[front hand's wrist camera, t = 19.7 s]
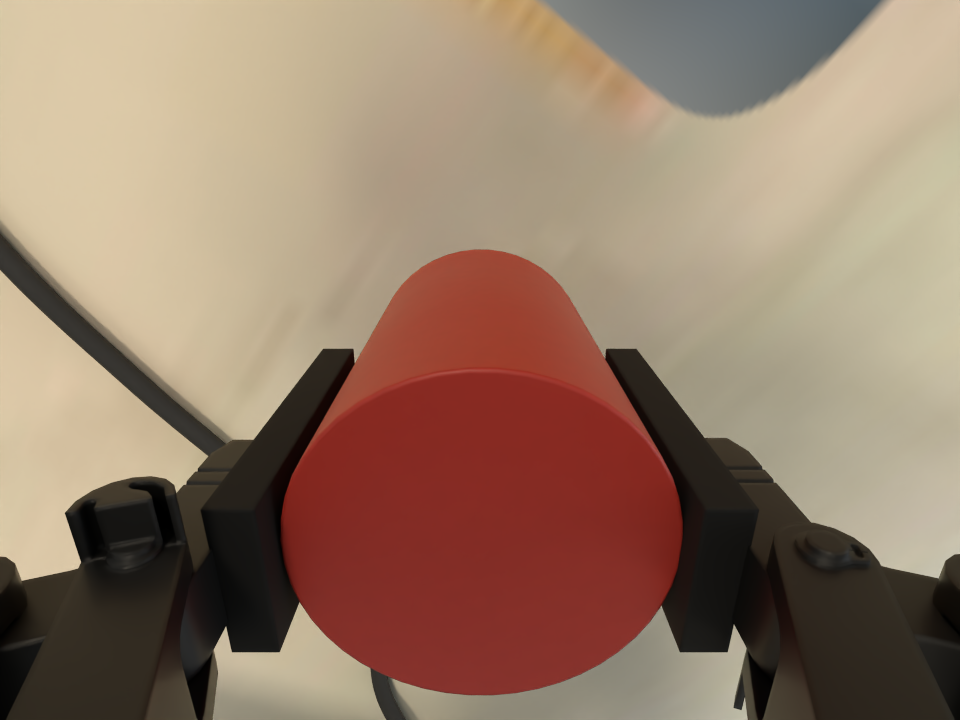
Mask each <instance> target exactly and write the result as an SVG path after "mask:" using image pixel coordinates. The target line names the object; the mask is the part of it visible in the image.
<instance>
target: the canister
mask: <svg viewBox="0 0 960 720" xmlns="http://www.w3.org/2000/svg"><path fill="white" fill-rule="evenodd" d="M682 538H683V518H682V511H681V505H680V498H679V495H678V492H677V489H676V486H675V483H674V480H673V477H672V475H671V473H670V471H669V469H668V467H667V465H666V464H665V462H664V460H663V458H662V456H661V454H660V452H659V451H658V449H657V447H656V446H655V444H654V442H653V440H652V439H651V437H650V435H649V434H648V432H647V430H646V428H645V427H644V425H643V423H642V422H641V420H640V418H639V416H638V415H637V413H636V411H635V410H634V408H633V406H632V404H631V403H630V401H629V399H628V398H627V396H626V394H625V392H624V391H623V389H622V387H621V386H620V384H619V382H618V380H617V379H616V377H615V375H614V374H613V372H612V370H611V368H610V367H609V365H608V363H607V362H606V360H605V358H604V356H603V355H602V353H601V351H600V350H599V348H598V346H597V344H596V343H595V341H594V339H593V338H592V336H591V334H590V332H589V331H588V329H587V327H586V326H585V324H584V322H583V320H582V319H581V317H580V315H579V314H578V312H577V310H576V308H575V307H574V305H573V303H572V302H571V300H570V298H569V297H568V295H567V294H566V292H565V291H564V290H563V288H562V287H561V286H560V285H559V284H558V282H557V281H556V280H555V279H554V278H553V277H552V276H551V275H549V274H548V273H547V272H546V271H544V270H543V269H542V268H540V267H539V266H537V265H535V264H534V263H532V262H530V261H528V260H526V259H524V258H521V257H519V256H516V255H513V254H509V253H506V252H501V251H494V250H468V251H460V252H456V253H453V254H449V255H446V256H443V257H441V258H438V259H436V260H434V261H432V262H430V263H428V264H427V265H425V266H423V267H422V268H420V269H419V270H418V271H416V272H415V273H414V274H412V275H411V276H410V277H409V278H408V279H407V280H406V281H405V282H404V283H403V284H402V285H401V287H400V288H399V289H398V291H397V292H396V293H395V295H394V296H393V298H392V300H391V301H390V303H389V305H388V307H387V308H386V310H385V312H384V314H383V316H382V317H381V319H380V321H379V323H378V324H377V326H376V328H375V330H374V331H373V333H372V335H371V337H370V338H369V340H368V342H367V344H366V345H365V347H364V349H363V351H362V352H361V354H360V356H359V358H358V359H357V361H356V363H355V365H354V366H353V368H352V370H351V372H350V373H349V375H348V377H347V379H346V380H345V382H344V384H343V386H342V387H341V389H340V391H339V393H338V394H337V396H336V398H335V400H334V401H333V403H332V405H331V407H330V408H329V410H328V412H327V414H326V415H325V417H324V419H323V421H322V422H321V424H320V426H319V428H318V429H317V431H316V433H315V435H314V436H313V438H312V440H311V442H310V443H309V445H308V447H307V449H306V450H305V452H304V454H303V456H302V458H301V459H300V461H299V463H298V465H297V467H296V469H295V471H294V472H293V474H292V477H291V479H290V482H289V485H288V488H287V491H286V494H285V497H284V503H283V508H282V514H281V546H282V553H283V559H284V564H285V568H286V571H287V574H288V577H289V580H290V583H291V585H292V587H293V589H294V591H295V593H296V595H297V597H298V600H299V602H300V603H301V605H302V606H303V608H304V609H305V611H306V612H307V614H308V615H309V616H310V618H311V619H312V621H313V622H314V623H315V624H316V625H317V626H318V627H319V628H320V630H321V631H322V632H323V633H324V634H325V635H326V636H327V637H328V638H329V639H330V640H331V641H333V642H334V643H335V644H336V645H337V646H338V647H339V648H341V649H342V650H343V651H344V652H346V653H347V654H349V655H350V656H352V657H353V658H355V659H356V660H357V661H359V662H360V663H362V664H364V665H366V666H368V667H370V668H371V669H373V670H375V671H377V672H379V673H381V674H383V675H386V676H388V677H391V678H393V679H396V680H398V681H400V682H403V683H407V684H410V685H413V686H417V687H420V688H424V689H429V690H434V691H439V692H444V693H453V694H463V695H500V694H511V693H518V692H524V691H529V690H535V689H539V688H543V687H546V686H550V685H553V684H557V683H560V682H562V681H565V680H568V679H570V678H573V677H575V676H578V675H580V674H582V673H584V672H586V671H588V670H590V669H592V668H594V667H596V666H597V665H599V664H601V663H603V662H604V661H606V660H607V659H609V658H610V657H612V656H613V655H615V654H616V653H618V652H619V651H620V650H621V649H623V648H624V647H625V646H626V645H627V644H628V643H630V642H631V641H632V640H633V639H634V638H635V637H636V636H637V635H638V634H639V633H640V632H641V631H642V630H643V629H644V628H645V627H646V626H647V624H648V623H649V622H650V621H651V620H652V618H653V617H654V615H655V614H656V612H657V611H658V610H659V608H660V607H661V605H662V604H663V602H664V600H665V598H666V596H667V594H668V592H669V590H670V588H671V586H672V584H673V581H674V578H675V575H676V572H677V569H678V563H679V557H680V551H681V545H682Z"/></svg>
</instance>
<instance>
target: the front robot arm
mask: <svg viewBox="0 0 960 720" xmlns="http://www.w3.org/2000/svg"><path fill="white" fill-rule="evenodd" d="M0 270H1V271H2V272H3V273H4V274H5V275H6V276H7V277H8V278H9V279H10V280H11V281H12V282H13V284H14V285H15V286H16V287H17V288H18V289H19V290H20V291H21V292H22V293H23V294H24V295H26V296H27V297H28V298H29V299H30V300H31V301H32V302H33V303H34V304H35V305H36V306H37V307H38V308H39V309H40V310H41V311H42V312H43V313H44V314H45V315H46V316H47V317H48V318H50V319H51V320H52V321H53V322H54V323H55V324H56V325H57V326H58V327H59V328H60V329H61V330H63V331H64V332H65V333H66V334H67V335H68V336H69V337H70V338H71V339H73V340H74V341H75V342H76V343H77V344H78V345H79V346H80V347H81V348H83V349H84V350H85V351H86V352H87V353H88V354H89V355H90V356H92V357H93V358H94V359H95V360H96V361H97V362H98V363H99V364H101V365H102V366H103V367H104V368H105V369H106V370H107V371H108V372H110V373H111V374H112V375H113V376H114V377H115V378H116V379H117V380H119V381H120V382H121V383H122V384H123V385H124V386H125V387H126V388H128V389H129V390H130V391H131V392H132V393H133V394H134V395H135V396H137V397H138V398H139V399H140V400H141V401H142V402H144V403H145V404H146V405H147V406H148V407H149V408H150V409H152V410H153V411H154V412H155V413H156V414H158V415H159V416H160V417H161V418H162V419H164V420H165V421H166V422H167V423H168V424H170V425H171V426H172V427H173V428H174V429H176V430H177V431H178V432H179V433H181V434H182V435H183V436H184V437H185V438H187V439H188V440H189V441H190V442H192V443H193V444H194V445H195V446H197V447H198V448H199V449H200V450H202V451H203V452H204V453H205V454H206V455H208V456H209V457H208V458H207V459H206V460H205V461H204V462H203V463H202V465H201V466H200V467H199V468H198V472H195V473H194V474H193V475H192V476H191V477H190V478H189V480H188V481H187V484H186V485H183V486H182V488H181V489H180V490H179V491H178V492H177V493H176V490H175V486H174V485H173V484H172V483H171V482H169V481H168V480H167V479H163V478H158V477H152V476H150V477H135V478H129V479H125V480H121V481H117V482H113V483H110V484H108V485H105V486H103V487H100V488H98V489H96V490H93V491H91V492H90V493H88V494H87V495H85V496H83V497H82V498H80V499H79V500H77V501H76V502H75V503H74V504H73V505H72V506H71V507H70V508H69V509H68V510H67V511H66V512H65V515H66V518H67V521H68V524H69V527H70V530H71V533H72V536H73V539H74V542H75V545H76V548H77V551H78V554H79V557H80V560H81V564H80V566H79V568H78V569H75V570H71V571H67V572H62V573H57V574H53V575H48V576H43V577H38V578H34V579H29V580H24V581H21V578H20V575H19V573H18V570H17V568H16V565H15V563H13V562H12V561H11V560H9V559H8V558H6V557H0V720H212V719H213V710H214V702H215V694H216V685H217V677H218V670H217V663H216V658H215V654H214V648H215V646H216V644H217V642H218V640H219V638H220V636H221V634H222V633H223V631H224V629H225V627H227V632H228V636H229V641H230V645H231V650H232V652H280V650H281V647H282V645H283V642H284V640H285V637H286V635H287V632H288V630H289V627H290V625H291V622H292V619H293V617H294V614H295V612H296V609H297V607H298V604H299V600H298V597H297V595H296V593H295V591H294V589H293V587H292V585H291V583H290V580H289V577H288V574H287V571H286V568H285V564H284V559H283V553H282V546H281V514H282V508H283V503H284V497H285V494H286V491H287V488H288V485H289V482H290V479H291V477H292V474H293V472H294V471H295V469H296V467H297V465H298V463H299V461H300V459H301V458H302V456H303V454H304V452H305V450H306V449H307V447H308V445H309V443H310V442H311V440H312V438H313V436H314V435H315V433H316V431H317V429H318V428H319V426H320V424H321V422H322V421H323V419H324V417H325V415H326V414H327V412H328V410H329V408H330V407H331V405H332V403H333V401H334V400H335V398H336V396H337V394H338V393H339V391H340V389H341V387H342V386H343V384H344V382H345V380H346V379H347V377H348V375H349V373H350V372H351V370H352V368H353V366H354V365H355V362H354V351H353V349H323V350H322V351H321V353H320V354H319V355H318V356H317V358H316V359H315V360H314V362H313V363H312V364H311V366H310V367H309V368H308V370H307V371H306V372H305V373H304V375H303V376H302V377H301V379H300V380H299V381H298V383H297V384H296V385H295V387H294V388H293V389H292V390H291V392H290V393H289V394H288V396H287V397H286V398H285V400H284V401H283V402H282V404H281V405H280V406H279V407H278V409H277V410H276V411H275V413H274V414H273V415H272V417H271V418H270V419H269V421H268V422H267V423H266V424H265V426H264V427H263V428H262V430H261V431H260V432H259V434H258V435H257V436H256V438H255V439H254V440H232V441H231V442H229V443H227V444H225V443H224V442H223V441H222V440H220V439H219V438H218V437H217V436H216V435H214V434H213V433H212V432H211V431H210V430H208V429H207V428H206V427H205V426H203V425H202V424H201V423H200V422H199V421H197V420H196V419H195V418H194V417H193V416H191V415H190V414H189V413H188V412H187V411H185V410H184V409H183V408H182V407H181V406H180V405H178V404H177V403H176V402H175V401H174V400H173V399H171V398H170V397H169V396H168V395H167V394H166V393H164V392H163V391H162V390H161V389H160V388H159V387H158V386H156V385H155V384H154V383H153V382H152V381H151V380H150V379H149V378H148V377H146V376H145V375H144V374H143V373H142V372H141V371H140V370H139V369H138V368H137V367H135V366H134V365H133V364H132V363H131V362H130V361H129V360H128V359H127V358H126V357H124V356H123V355H122V354H121V353H120V352H119V351H118V350H117V349H116V348H115V347H113V346H112V345H111V344H110V343H109V342H108V341H107V340H106V339H105V338H104V337H102V336H101V335H100V334H99V333H98V332H97V331H96V330H95V329H94V328H93V327H91V326H90V325H89V324H88V323H87V322H86V321H85V320H84V319H83V318H82V317H81V316H80V315H79V314H77V313H76V312H75V311H74V310H73V309H72V308H71V307H70V306H69V305H68V304H67V303H66V302H65V301H64V300H63V299H62V298H61V297H60V296H59V295H58V294H57V293H56V292H54V291H53V290H52V289H51V288H50V287H49V286H48V285H47V284H46V283H45V282H44V281H43V280H42V279H41V277H40V276H39V275H38V274H37V273H36V272H35V271H34V270H33V269H32V268H31V267H30V266H29V265H28V264H27V263H26V262H25V261H24V260H23V259H22V258H21V257H20V255H19V254H18V253H17V252H16V251H15V250H14V249H13V248H12V247H11V246H10V245H9V244H8V242H7V241H6V240H5V239H4V238H3V237H2V236H1V235H0ZM605 360H606V362H607V363H608V365H609V367H610V368H611V370H612V372H613V374H614V375H615V377H616V379H617V380H618V382H619V384H620V386H621V387H622V389H623V391H624V392H625V394H626V396H627V398H628V399H629V401H630V403H631V404H632V406H633V408H634V410H635V411H636V413H637V415H638V416H639V418H640V420H641V422H642V423H643V425H644V427H645V428H646V430H647V432H648V434H649V435H650V437H651V439H652V440H653V442H654V444H655V446H656V447H657V449H658V451H659V452H660V454H661V456H662V458H663V460H664V462H665V464H666V465H667V467H668V469H669V471H670V473H671V475H672V477H673V480H674V483H675V486H676V489H677V492H678V495H679V498H680V505H681V511H682V518H683V538H682V545H681V551H680V557H679V563H678V569H677V572H676V575H675V578H674V581H673V584H672V586H671V588H670V590H669V592H668V594H667V596H666V598H665V600H664V602H663V604H662V608H663V610H664V613H665V615H666V618H667V620H668V623H669V625H670V628H671V631H672V633H673V636H674V638H675V641H676V643H677V646H678V648H679V651H680V652H728V648H729V644H730V639H731V635H732V630H733V626H734V625H735V627H736V629H737V630H738V632H739V634H740V636H741V638H742V640H743V642H744V644H745V645H746V647H747V649H746V654H745V658H744V662H743V666H742V670H741V675H740V679H739V683H738V687H737V691H736V695H735V702H734V708H736V709H740V710H742V706H743V702H744V698H745V701H746V709H747V717H748V720H960V554H956V555H953V556H952V557H950V558H949V559H948V560H946V561H945V564H944V566H943V569H942V571H941V574H940V577H939V579H938V578H934V577H929V576H924V575H919V574H914V573H910V572H905V571H900V570H895V569H891V568H887V567H883V566H881V565H880V563H879V561H878V560H877V559H876V557H875V556H874V555H873V553H872V552H871V551H870V550H869V549H868V548H867V547H866V546H864V545H863V544H862V543H860V542H859V541H857V540H856V539H855V538H853V537H851V536H849V535H847V534H845V533H843V532H841V531H839V530H837V529H834V528H831V527H827V526H824V525H820V524H816V523H811V522H810V521H809V520H808V519H807V517H806V516H805V515H804V514H803V513H802V512H801V511H800V509H799V508H798V507H797V506H796V505H795V504H794V503H793V501H792V500H791V499H790V498H789V497H788V496H787V495H786V493H785V492H784V491H783V490H782V489H781V488H780V487H779V485H778V484H777V483H774V482H773V479H772V477H771V476H770V475H769V474H768V473H767V472H766V471H765V470H762V466H761V465H760V464H759V463H758V461H757V460H756V459H755V458H754V457H753V456H752V455H751V454H750V452H749V451H747V450H746V449H744V448H742V447H741V446H739V445H737V444H736V443H734V442H732V441H731V440H729V439H727V438H704V437H703V435H702V434H701V433H700V432H699V430H698V429H697V428H696V426H695V425H694V424H693V422H692V421H691V420H690V418H689V417H688V416H687V415H686V413H685V412H684V411H683V409H682V408H681V407H680V405H679V404H678V403H677V401H676V400H675V399H674V398H673V396H672V395H671V394H670V392H669V391H668V390H667V388H666V387H665V386H664V384H663V383H662V382H661V381H660V379H659V378H658V377H657V375H656V374H655V373H654V371H653V370H652V369H651V367H650V366H649V365H648V364H647V362H646V361H645V360H644V358H643V357H642V356H641V354H640V353H639V352H638V350H637V349H606V358H605ZM371 677H372V683H373V688H374V692H375V695H376V698H377V701H378V704H379V706H380V708H381V710H382V712H383V714H384V716H385V718H386V720H406V719H405V717H404V716H403V714H402V712H401V710H400V709H399V707H398V705H397V703H396V701H395V699H394V697H393V695H392V692H391V689H390V686H389V683H388V679H387V676H386V675H383V674H381V673H379V672H377V671H375V670H373V669H371Z"/></svg>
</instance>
